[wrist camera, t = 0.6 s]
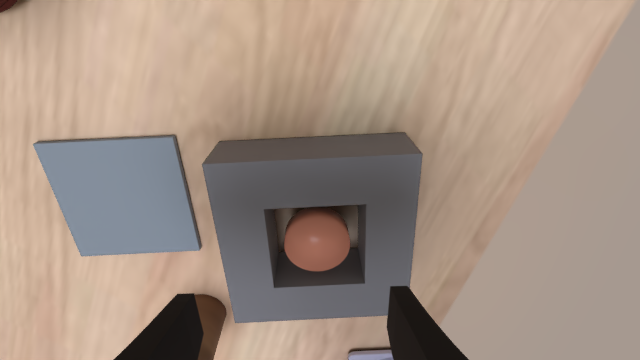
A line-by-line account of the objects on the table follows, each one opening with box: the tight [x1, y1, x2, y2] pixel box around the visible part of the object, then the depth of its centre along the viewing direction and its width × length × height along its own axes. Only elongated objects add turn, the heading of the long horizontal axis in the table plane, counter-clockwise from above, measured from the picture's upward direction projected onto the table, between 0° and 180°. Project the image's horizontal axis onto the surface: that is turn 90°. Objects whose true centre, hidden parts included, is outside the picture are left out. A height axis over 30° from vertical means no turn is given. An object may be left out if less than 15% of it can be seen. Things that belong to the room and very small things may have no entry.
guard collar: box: [202, 133, 422, 323], centre depth 21 cm, size 11×11×4 cm
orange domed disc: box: [284, 207, 350, 271], centre depth 20 cm, size 4×4×1 cm
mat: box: [33, 135, 201, 256], centre depth 21 cm, size 8×8×1 cm
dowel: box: [195, 295, 226, 360], centre depth 22 cm, size 3×3×8 cm
